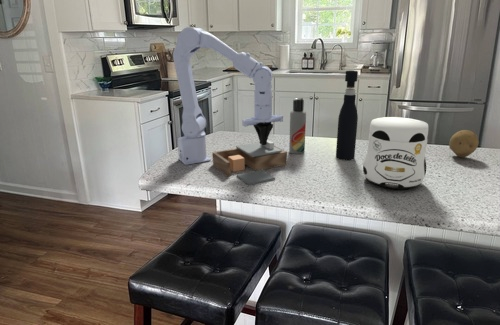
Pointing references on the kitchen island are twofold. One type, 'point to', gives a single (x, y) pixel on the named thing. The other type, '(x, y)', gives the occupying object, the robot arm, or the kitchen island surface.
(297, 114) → the lotion bottle
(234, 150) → the wooden box
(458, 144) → the potato
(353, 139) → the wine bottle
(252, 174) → the mat
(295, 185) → the kitchen island surface
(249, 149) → the slide cover
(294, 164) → the kitchen island surface
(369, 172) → the doce de leite jar
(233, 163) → the block
